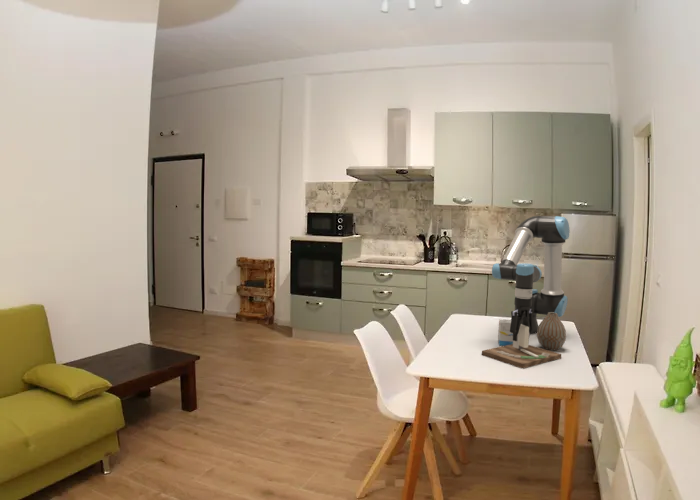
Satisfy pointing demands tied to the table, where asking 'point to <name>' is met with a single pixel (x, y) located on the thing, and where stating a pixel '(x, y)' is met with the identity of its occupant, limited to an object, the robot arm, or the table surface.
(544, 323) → the vase
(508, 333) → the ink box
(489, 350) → the board
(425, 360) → the table surface
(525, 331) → the cream dial pointer
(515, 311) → the robot arm
